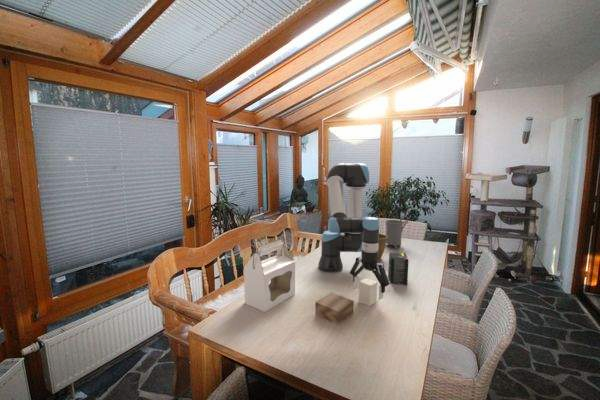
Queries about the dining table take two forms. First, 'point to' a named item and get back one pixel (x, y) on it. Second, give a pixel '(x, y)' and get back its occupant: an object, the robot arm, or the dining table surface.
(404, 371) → the dining table surface
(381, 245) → the plant pot
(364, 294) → the cream block
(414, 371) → the dining table surface
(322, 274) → the dining table surface
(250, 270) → the gable box
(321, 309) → the walnut block
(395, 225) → the grey pitcher
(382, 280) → the robot arm
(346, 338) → the dining table surface
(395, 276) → the tampon box
